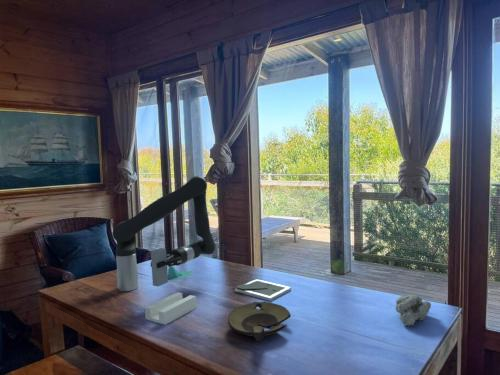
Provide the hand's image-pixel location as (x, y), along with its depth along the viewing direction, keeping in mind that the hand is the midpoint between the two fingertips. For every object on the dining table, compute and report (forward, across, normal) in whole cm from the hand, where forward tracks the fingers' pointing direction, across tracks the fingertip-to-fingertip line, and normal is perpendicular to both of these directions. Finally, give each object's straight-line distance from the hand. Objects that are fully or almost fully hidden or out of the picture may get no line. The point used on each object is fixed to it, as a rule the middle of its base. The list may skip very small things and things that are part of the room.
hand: (154, 265), depth 155 cm
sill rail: (+3, +11, +18) cm, 21 cm away
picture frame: (-35, +32, +19) cm, 51 cm away
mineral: (-34, +96, +18) cm, 104 cm away
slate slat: (-3, 0, +9) cm, 9 cm away
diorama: (-36, -21, +19) cm, 45 cm away
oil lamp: (0, +50, +18) cm, 53 cm away
